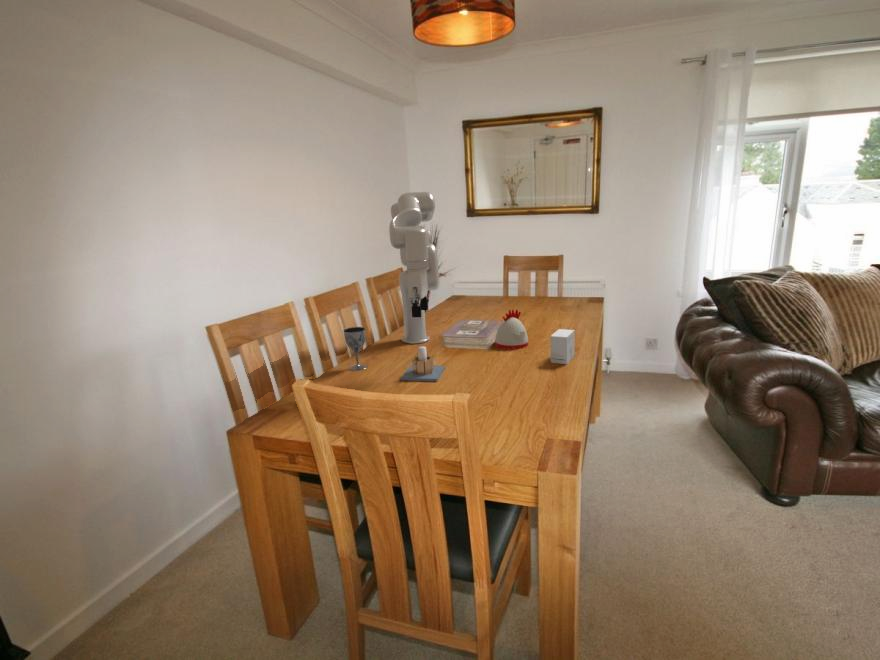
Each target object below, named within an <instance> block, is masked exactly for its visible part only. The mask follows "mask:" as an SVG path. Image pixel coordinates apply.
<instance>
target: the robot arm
mask: <svg viewBox="0 0 880 660" xmlns="http://www.w3.org/2000/svg"><path fill="white" fill-rule="evenodd" d="M435 201H436V200H435V198H434V196H433V194H432V193H431V192H429V191H419V192H418V191H417V192H415V191H414V192H412V191H411V192H405V193H402V194H401V195H400V196H399V197H398V199H397V202H395V203H393V204H392V205H391V206H390V215H391V220H390V222H389V228H388V233H389V234H388V235H389V241H390V244H391V246H392V247H393V248H394V249H396V250H399V256H400V263H401V264H402V265H403V266H404V267H406V270H403V271H402V272H400V273H399V274H398V275H399V276H398V283H399V284H398V285H399V289H400V293H401V299H402V300H401V301H402V312H403V327H404V330H403V331H404V336H402V337H401V342H402V343H405V344H411V345H412V344H413V345H414V344H422V343H425V342H428V341H430V335H429V334H427V330H426V312H425V311H428V310H429V301H428V292H430V291H435V290H437V289H439V287H440V272H439V271H440V270H439V259H438V252H437V251H438V250H437V248H436V246H435V245H434V244H433V243H430V242H431V231H430V230H429V228H428V227H427V226H424V225H420V224H421V223H425V222H430V221H432V219H433V216H434V213H435V208H436V203H435Z"/></svg>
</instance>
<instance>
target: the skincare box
mask: <svg viewBox="0 0 880 660" xmlns="http://www.w3.org/2000/svg"><path fill="white" fill-rule="evenodd" d="M575 331H576V330H575V329H565V328H559V329H557V330H556V331H554V333H553V334H551V335H550V363H552V364H562V365H568V364H569V363H570V362H571V361H572V360H573V358H574V357H575V355H576V354H575V338H576V337H575Z"/></svg>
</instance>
